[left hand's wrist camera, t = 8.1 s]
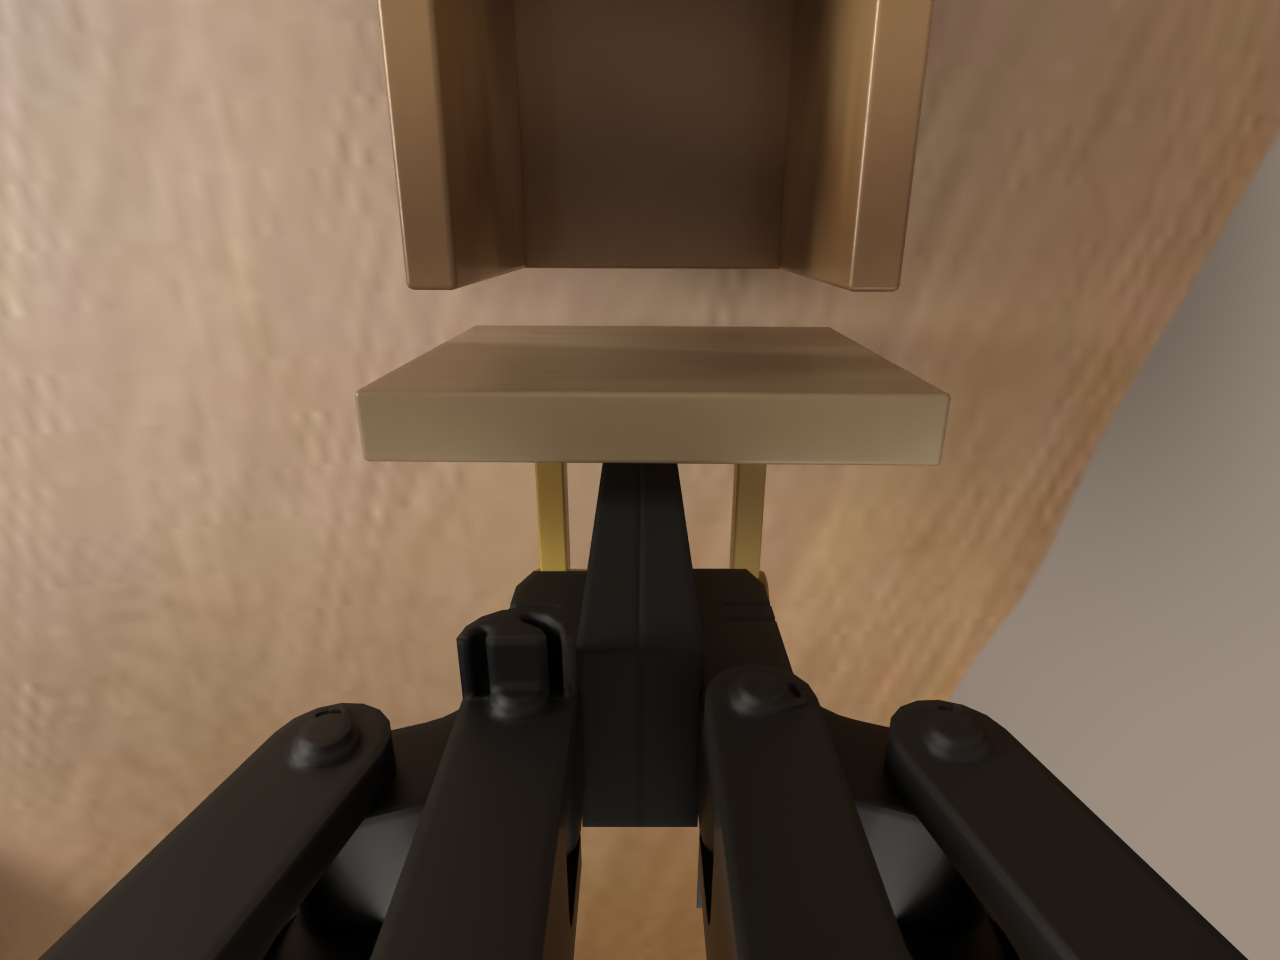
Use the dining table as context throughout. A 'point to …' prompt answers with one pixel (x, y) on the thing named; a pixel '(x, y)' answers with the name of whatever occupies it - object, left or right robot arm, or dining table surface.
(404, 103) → the drawer
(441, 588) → the dining table surface
